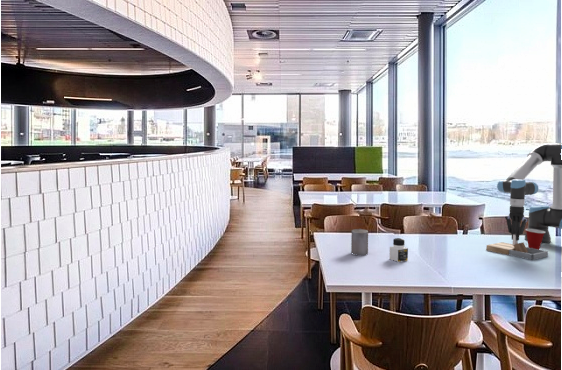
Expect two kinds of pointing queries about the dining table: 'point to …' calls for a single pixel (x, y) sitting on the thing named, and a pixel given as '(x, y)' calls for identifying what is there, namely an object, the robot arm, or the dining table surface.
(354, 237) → the pillar candle
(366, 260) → the dining table surface
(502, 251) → the board
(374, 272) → the dining table surface
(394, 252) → the medicine bottle
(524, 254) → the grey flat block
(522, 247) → the brown square block
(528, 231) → the plastic cup
